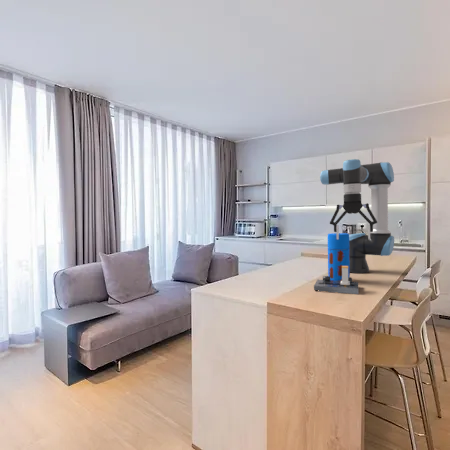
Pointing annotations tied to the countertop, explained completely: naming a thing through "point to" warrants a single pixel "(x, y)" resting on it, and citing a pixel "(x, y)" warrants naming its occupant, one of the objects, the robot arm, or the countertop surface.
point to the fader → (345, 276)
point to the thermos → (338, 255)
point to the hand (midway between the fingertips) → (353, 239)
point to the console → (336, 286)
